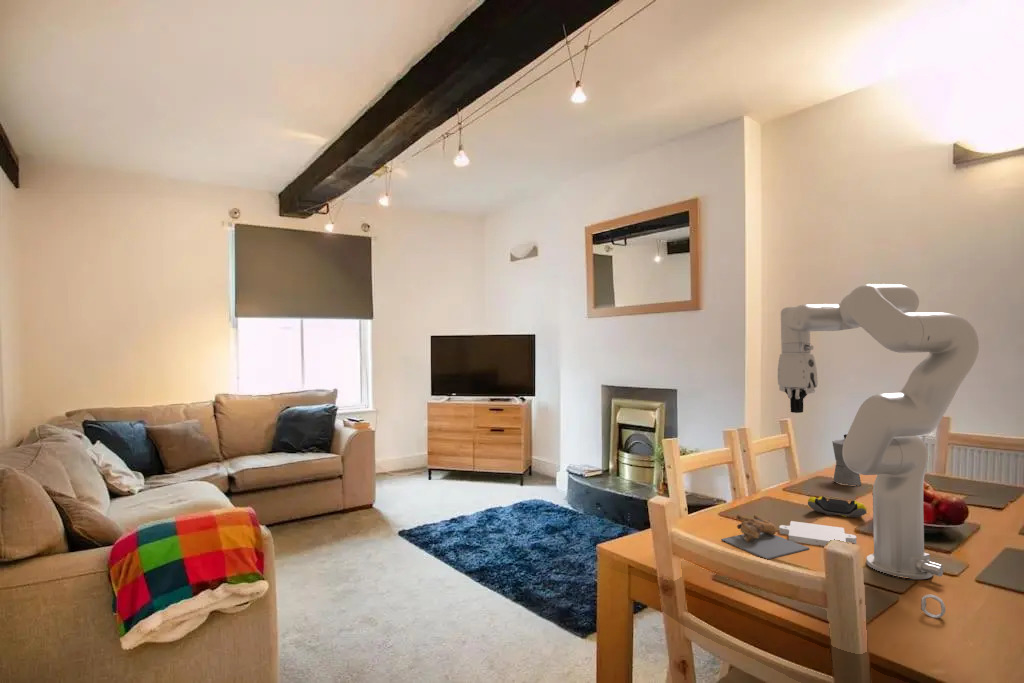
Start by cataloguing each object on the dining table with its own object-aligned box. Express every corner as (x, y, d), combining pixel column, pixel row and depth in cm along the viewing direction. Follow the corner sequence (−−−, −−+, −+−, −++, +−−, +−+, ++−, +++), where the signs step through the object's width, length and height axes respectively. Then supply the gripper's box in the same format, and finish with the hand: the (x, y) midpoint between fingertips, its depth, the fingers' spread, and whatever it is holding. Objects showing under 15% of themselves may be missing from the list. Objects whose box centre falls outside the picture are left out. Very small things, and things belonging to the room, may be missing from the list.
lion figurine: (726, 534, 148) (751, 545, 139) (726, 515, 148) (751, 524, 139) (767, 529, 153) (794, 539, 144) (767, 510, 153) (794, 519, 144)
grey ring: (946, 617, 103) (945, 596, 103) (945, 622, 101) (944, 600, 101) (922, 611, 105) (921, 591, 105) (921, 616, 104) (920, 595, 104)
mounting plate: (778, 540, 145) (778, 533, 145) (780, 526, 156) (780, 519, 156) (858, 552, 136) (857, 545, 136) (854, 536, 147) (854, 529, 147)
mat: (809, 549, 137) (809, 547, 137) (766, 559, 131) (766, 558, 131) (762, 531, 151) (761, 530, 151) (721, 540, 145) (721, 538, 145)
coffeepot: (824, 478, 206) (823, 431, 206) (850, 479, 206) (849, 431, 206) (846, 489, 191) (845, 438, 191) (874, 489, 190) (873, 438, 190)
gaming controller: (866, 524, 156) (867, 515, 164) (865, 505, 156) (867, 496, 164) (807, 515, 164) (811, 507, 172) (806, 497, 164) (810, 489, 172)
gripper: (828, 349, 152) (829, 414, 152) (782, 349, 166) (783, 408, 166) (810, 349, 149) (811, 416, 149) (765, 349, 163) (766, 410, 163)
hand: (796, 412), depth 158 cm, fingers closed
